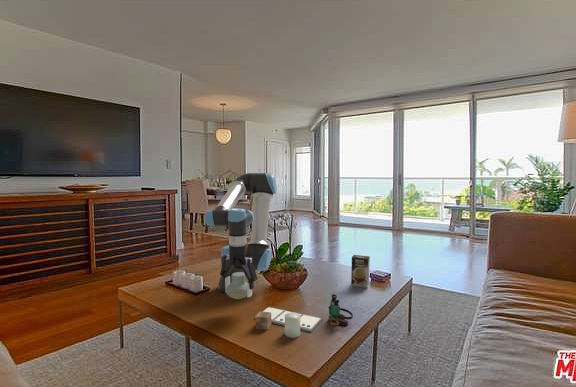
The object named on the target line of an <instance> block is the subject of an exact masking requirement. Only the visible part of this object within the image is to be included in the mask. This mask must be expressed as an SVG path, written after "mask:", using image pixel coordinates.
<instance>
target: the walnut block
mask: <svg viewBox="0 0 576 387" xmlns="http://www.w3.org/2000/svg"><path fill="white" fill-rule="evenodd" d="M255 316H256V319H255V330H264V331H269V329H270V327H271V326H272V323H271V312H262V311H261V310H260V311H258V313H257V314H256V315H255Z"/></svg>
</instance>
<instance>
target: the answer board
mask: <svg viewBox="0 0 576 387" xmlns="http://www.w3.org/2000/svg"><path fill="white" fill-rule="evenodd" d="M261 312H271V324H274V325H278V326H282V327H285V314H287V313H298V314H300V331H303V332H308V333H312V332H313V331H314V330H315V329H316V328H317V326H319V324H321V322H322V321H323V317H318V316H313V315H309V314H305V313H301V312H294V311H289V310H286V309H281V308H277V307H272V306H268V307H267V308H265V309H263V310H262V311H261ZM253 319H254V320H256V315H255V316H254V318H253Z"/></svg>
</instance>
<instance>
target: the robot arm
mask: <svg viewBox="0 0 576 387" xmlns="http://www.w3.org/2000/svg"><path fill="white" fill-rule="evenodd" d="M247 194H252V195H251V196H252V197H253V198H254V201H253V202H254V203H253V211H252V210H250V209H245V208H235V206H236V205H237V204H238V202H239V200H241V197H243V196H244V195H247ZM275 194H277V181H276V178H275V175H274V174H273V173H269V172H247V173H243V174H241V175H239V176H237V177H236V178H234V179H233V180H232V181H231V183H230V184H229V186H228V190H227V192H226V193H225V194H224V195H223V197H222V198H221V200H220V201H219V202H218V204H217V205H216V206H215V208H214V209H208V210H206V211H205V212H204V223H205V225H206V226H208V227H209V226H210V227H228V245H225V246H223V247H222V248H221V251H220V252H221V254H220V267H221V269H220V273H219V275H220V278H219V281H218V285H217V290H218V291H219V292H221V293H225V294H227V293H226V288H227V286H228V285H229V284H230V283H232V274H233V273H236V272H243V273H244V274H245V278H246V279H247V281H246V280H245V282H246V283H247V296H246V298H251V297H252V296H253V289H254V282H256V281H257V280H258V276H257V272H259V271H261V272H262V271H267V270H268V269H269V267H270V266H269V265H271V263H272V257H273V254H272V253H273V249H271V248H270V244H269V243H268V241H267V240H268V226H269V218H268V217H270V216H269V215H270V202H271V199H273V197H274V195H275ZM250 225H251V234H250V236H251V237H250V241H249V242H248V241H247V227H248V226H250ZM270 262H271V263H270ZM256 271H257V272H256Z"/></svg>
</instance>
